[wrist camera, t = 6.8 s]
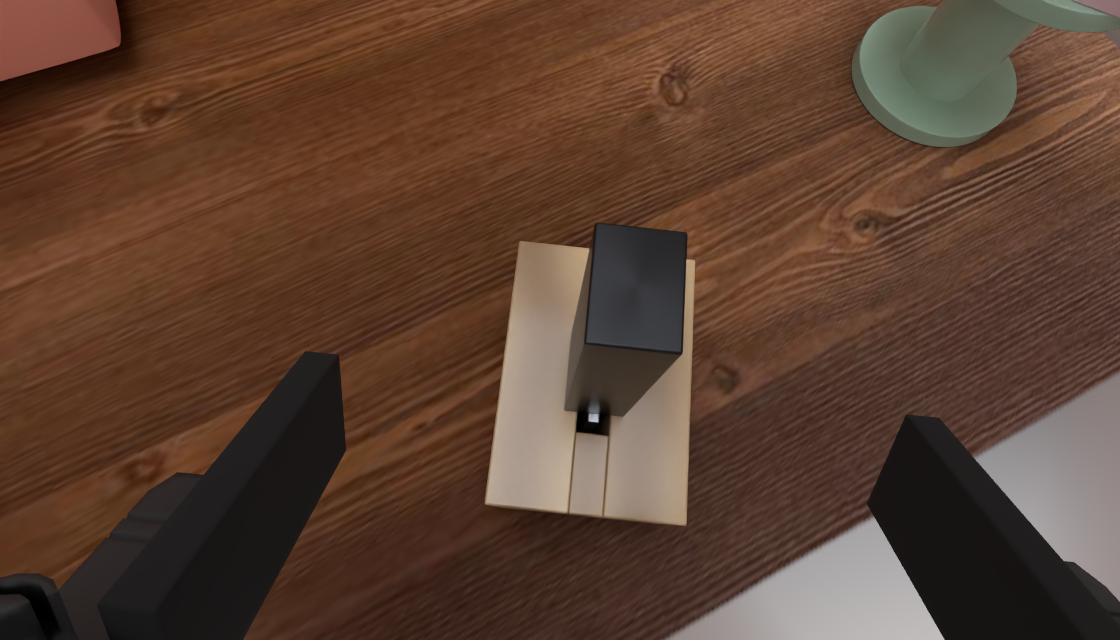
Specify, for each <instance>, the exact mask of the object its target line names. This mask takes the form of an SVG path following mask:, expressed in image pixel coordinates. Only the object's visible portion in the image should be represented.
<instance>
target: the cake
mask: <svg viewBox="0 0 1120 640" xmlns="http://www.w3.org/2000/svg"><path fill="white" fill-rule="evenodd" d="M1073 1H1075V2H1078V3H1081V4H1083V5H1086V6H1088V7H1091V8H1094V9H1096V10H1099V11H1101V12H1104V13H1107V14H1109V15H1112V16H1115V17H1117V18H1120V0H1073Z"/></svg>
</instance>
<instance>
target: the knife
mask: <svg viewBox="0 0 1120 640" xmlns="http://www.w3.org/2000/svg"><path fill="white" fill-rule="evenodd" d="M686 260H687V233H686V232H678V231H669V230H660V229H651V228H642V227H633V226H624V225H615V224H606V223H596V224H595V226H594V231H593V235H592V240H591V245H590V249H589V254H588V259H587V263H586V268H585V272H584V277H583V282H582V286H581V291H580V296H579V300H578V305H577V310H576V314H575V319H574V324H573V328H572V333H571V343H570V353H569V363H568V374H567V384H566V394H565V404H564V410H566V411H574V412H578V421H577V432H582V433H591V432H592V431H593V429H594V428H595V427H596V425H597V424H598V422H599V414H602V415H612V416H621V417H623V416H625V415H626V414H627V413H628V412H629V411H630V409H631V408H632V407H633V406H634V405H635V404H636V403H637V402H638V401H639V400H640V399H641V398H642V397H643V396H644V394H645V393H646V392H647V391H648V390H649V389H650V388H651V387H652V386H653V385H654V384H655V383H656V382H657V381H658V379H659V378H660V377H661V376H662V375H663V374H664V373H665V372H666V371H667V370H668V369H669V368H670V367H671V366H672V365H673V363H674V362H675V361H676V360H677V359H678V358H679V357H680V356H681V355H682V353H683V337H684V312H685V286H686Z"/></svg>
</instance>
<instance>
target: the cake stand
mask: <svg viewBox="0 0 1120 640" xmlns="http://www.w3.org/2000/svg"><path fill="white" fill-rule="evenodd" d="M1041 25H1044V26H1047V27H1051V28H1055V29H1059V30H1064V31H1072V32H1086V33H1095V32H1106V31H1112V30H1116V29H1120V18H1117V17H1115V16H1112V15H1109V14H1107V13H1104V12H1101V11H1099V10H1096V9H1094V8H1091V7H1088V6H1086V5H1083V4H1081V3H1078V2H1075V1H1073V0H943V1H942V2H941V3H940V4H939V6H938V7H930V6H912V7H905V8H900V9H897V10H894V11H891V12H889V13H887V14H885V15H883V16H882V17H881V18H879V19H878V20H876V21H875V22H874V23H873V24H872V25H871V26H870V28H869V29H868V30H867V32H866V33H865V35H864V36H863V37H862V39H861V40H860V42H859V43H858V45H857V47H856V49H855V51H854V55H853V58H852V66H851V68H852V79H853V84H854V87H855V90H856V92H857V94H858V96H859V98H860V100H861V102H862V103H863V105H864V106H865V108H866V109H867V110H868V111H869V112H870V114H871V115H872V116H873V117H874V118H875V119H876V120H877V121H878V122H879V123H881V124H882V125H883V126H885V127H886V128H887V129H889V130H890V131H892V132H894V133H895V134H897V135H899V136H901V137H903V138H905V139H907V140H910V141H913V142H916V143H919V144H923V145H927V146H934V147H955V146H961V145H965V144H969V143H972V142H974V141H977V140H978V139H980V138H982V137H984V136H985V135H986V134H988V133H989V132H990V131H991V130H992V129H994V128H995V127H996V126H997V125H998V124H1000V123H1001V122H1002V121H1003V120H1004V119H1005V118H1006V117H1007V115H1008V114H1009V112H1010V111H1011V109H1012V107H1013V104H1014V102H1015V99H1016V94H1017V79H1016V74H1015V70H1014V67H1013V64H1012V62H1011V60H1010V58H1009V55H1010V54H1011V53H1012V52H1014V51H1015V50H1016V49H1017V48H1018V47H1019V46H1020V45H1021V44H1022V43H1023V42H1024V41H1025V40H1026V39H1027V38H1028V37H1029V36H1030V35H1031V34H1032V33H1033V32H1034V31H1035V30H1036V29H1037V28H1038V27H1040V26H1041Z"/></svg>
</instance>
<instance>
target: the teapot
mask: <svg viewBox="0 0 1120 640" xmlns="http://www.w3.org/2000/svg"><path fill="white" fill-rule="evenodd" d="M120 43H121V32H120V23H119V17H118V11H117V6H116V0H0V81H3V80H7V79H10V78H14V77H17V76H21V75H24V74H28V73H31V72H35V71H38V70H42V69H45V68H49V67H53V66H56V65H60V64H63V63H67V62H70V61H74V60H77V59H80V58H84V57H87V56H90V55H94V54H97V53H101V52H104V51H107V50H110V49H113V48H116V47H118V46H119V45H120Z"/></svg>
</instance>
